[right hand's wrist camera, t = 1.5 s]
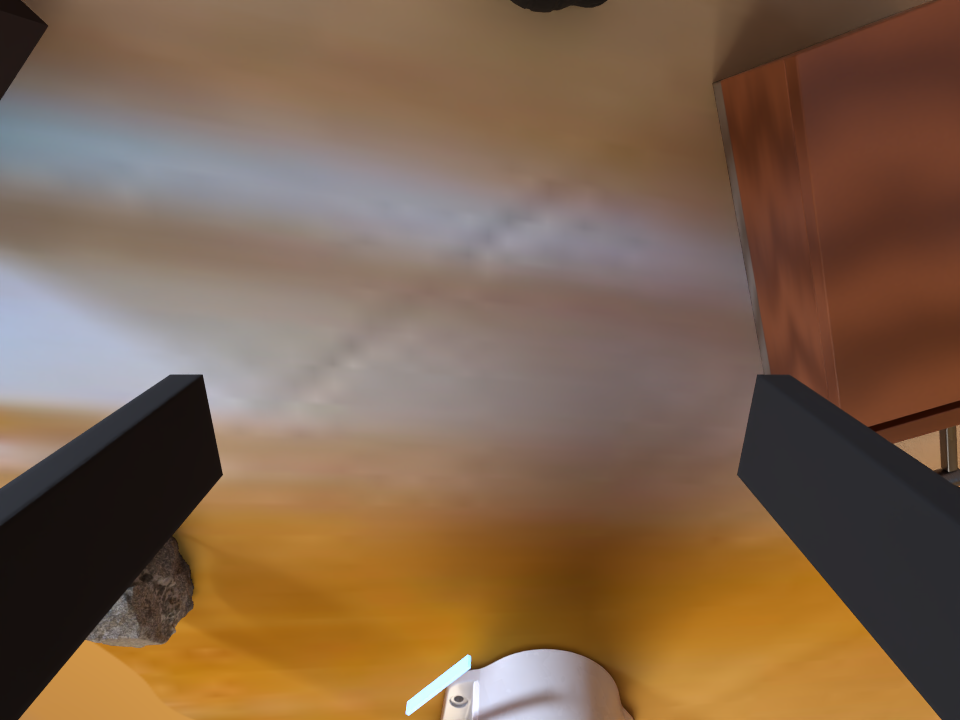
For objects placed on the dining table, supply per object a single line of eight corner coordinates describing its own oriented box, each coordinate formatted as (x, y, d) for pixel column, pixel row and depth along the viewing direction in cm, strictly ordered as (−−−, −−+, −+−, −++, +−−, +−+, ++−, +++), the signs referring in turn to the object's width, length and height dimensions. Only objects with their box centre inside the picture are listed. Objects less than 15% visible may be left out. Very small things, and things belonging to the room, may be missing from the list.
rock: (37, 521, 41) (-38, 582, 35) (111, 466, 40) (46, 520, 34) (163, 623, 45) (116, 694, 39) (236, 577, 44) (198, 644, 38)
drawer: (927, 435, 38) (1015, 488, 32) (795, 472, 39) (855, 531, 33) (906, 82, 30) (1018, 60, 24) (741, 142, 31) (806, 136, 25)
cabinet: (919, 329, 36) (1045, 376, 28) (764, 376, 38) (842, 435, 29) (900, 12, 30) (1058, -46, 22) (712, 83, 31) (795, 54, 23)
